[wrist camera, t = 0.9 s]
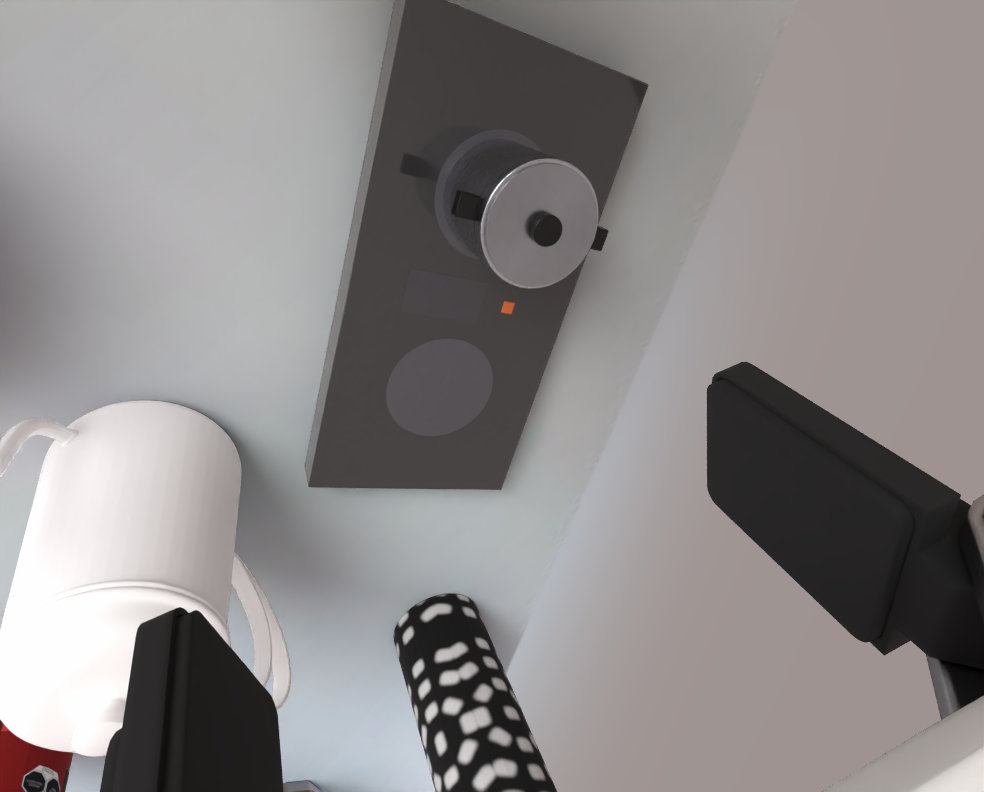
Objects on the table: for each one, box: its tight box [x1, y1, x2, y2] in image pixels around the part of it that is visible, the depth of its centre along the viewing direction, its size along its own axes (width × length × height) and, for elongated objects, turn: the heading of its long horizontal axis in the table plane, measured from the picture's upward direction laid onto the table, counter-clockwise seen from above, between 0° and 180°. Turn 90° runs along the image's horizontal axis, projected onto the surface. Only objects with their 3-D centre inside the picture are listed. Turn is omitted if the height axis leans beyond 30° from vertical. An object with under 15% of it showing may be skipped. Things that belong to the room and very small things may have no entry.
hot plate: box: [305, 0, 648, 490], centre depth 39 cm, size 30×15×2 cm, turn 162°
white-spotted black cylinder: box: [394, 594, 557, 792], centre depth 49 cm, size 8×8×20 cm
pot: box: [443, 139, 608, 289], centre depth 32 cm, size 7×9×7 cm
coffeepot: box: [0, 400, 291, 757], centre depth 31 cm, size 11×25×19 cm, turn 28°
